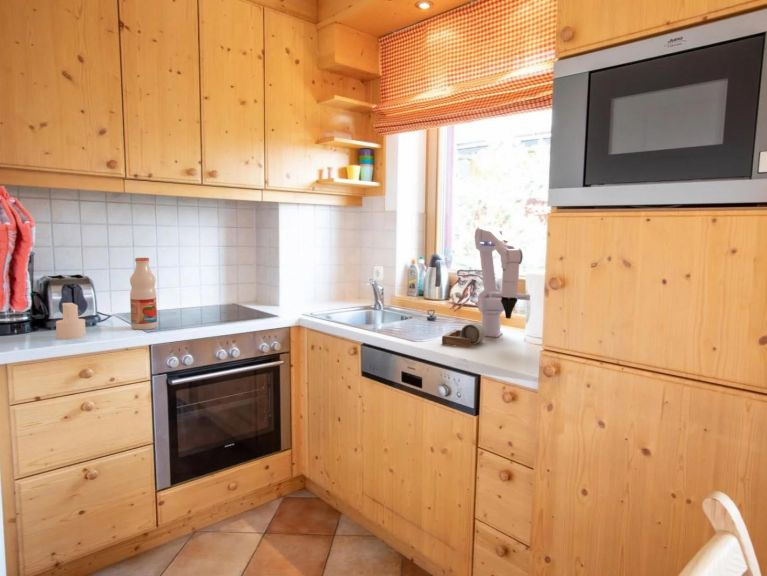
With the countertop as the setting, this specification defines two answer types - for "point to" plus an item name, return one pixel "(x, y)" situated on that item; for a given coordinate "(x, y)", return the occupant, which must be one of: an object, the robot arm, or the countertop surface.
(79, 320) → the base with upright slab
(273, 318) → the countertop surface
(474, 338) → the ceramic mug
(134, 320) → the fruit juice
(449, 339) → the brown wooden tray
